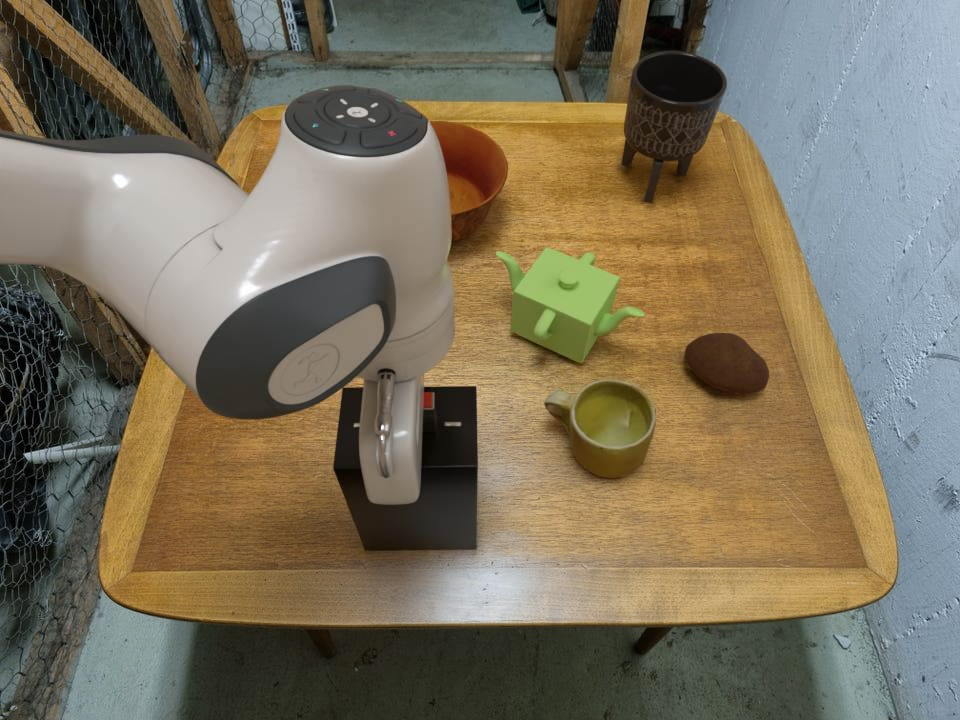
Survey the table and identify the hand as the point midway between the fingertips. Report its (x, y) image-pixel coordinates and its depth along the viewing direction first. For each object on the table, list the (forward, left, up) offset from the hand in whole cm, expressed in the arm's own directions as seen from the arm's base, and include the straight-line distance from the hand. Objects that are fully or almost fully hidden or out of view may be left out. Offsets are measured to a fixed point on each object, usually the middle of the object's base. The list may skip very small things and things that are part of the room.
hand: (406, 418), depth 57 cm
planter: (+65, +11, -21) cm, 69 cm away
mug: (+20, -9, -21) cm, 30 cm away
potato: (+38, -16, -21) cm, 46 cm away
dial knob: (0, 0, -1) cm, 1 cm away
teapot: (+31, +4, -21) cm, 38 cm away
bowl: (+36, +31, -21) cm, 52 cm away
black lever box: (0, 0, -21) cm, 21 cm away
